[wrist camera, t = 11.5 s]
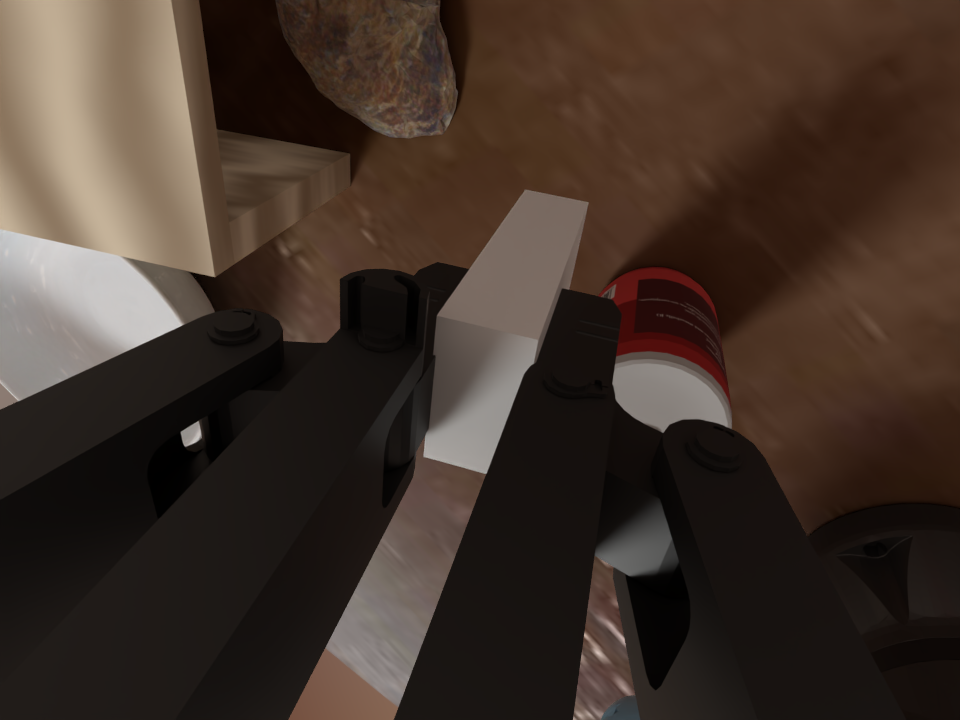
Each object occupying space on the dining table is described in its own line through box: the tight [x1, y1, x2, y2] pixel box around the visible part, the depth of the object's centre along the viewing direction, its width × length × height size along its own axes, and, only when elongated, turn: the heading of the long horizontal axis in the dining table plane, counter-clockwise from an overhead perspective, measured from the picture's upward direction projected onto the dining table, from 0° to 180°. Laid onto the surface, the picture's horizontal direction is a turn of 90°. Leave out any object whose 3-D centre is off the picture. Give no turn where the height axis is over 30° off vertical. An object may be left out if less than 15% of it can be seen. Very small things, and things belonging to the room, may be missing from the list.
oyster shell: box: [275, 0, 458, 139], centre depth 31 cm, size 10×12×5 cm
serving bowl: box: [0, 229, 215, 447], centre depth 45 cm, size 21×21×7 cm
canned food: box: [599, 267, 732, 433], centre depth 33 cm, size 8×8×11 cm
